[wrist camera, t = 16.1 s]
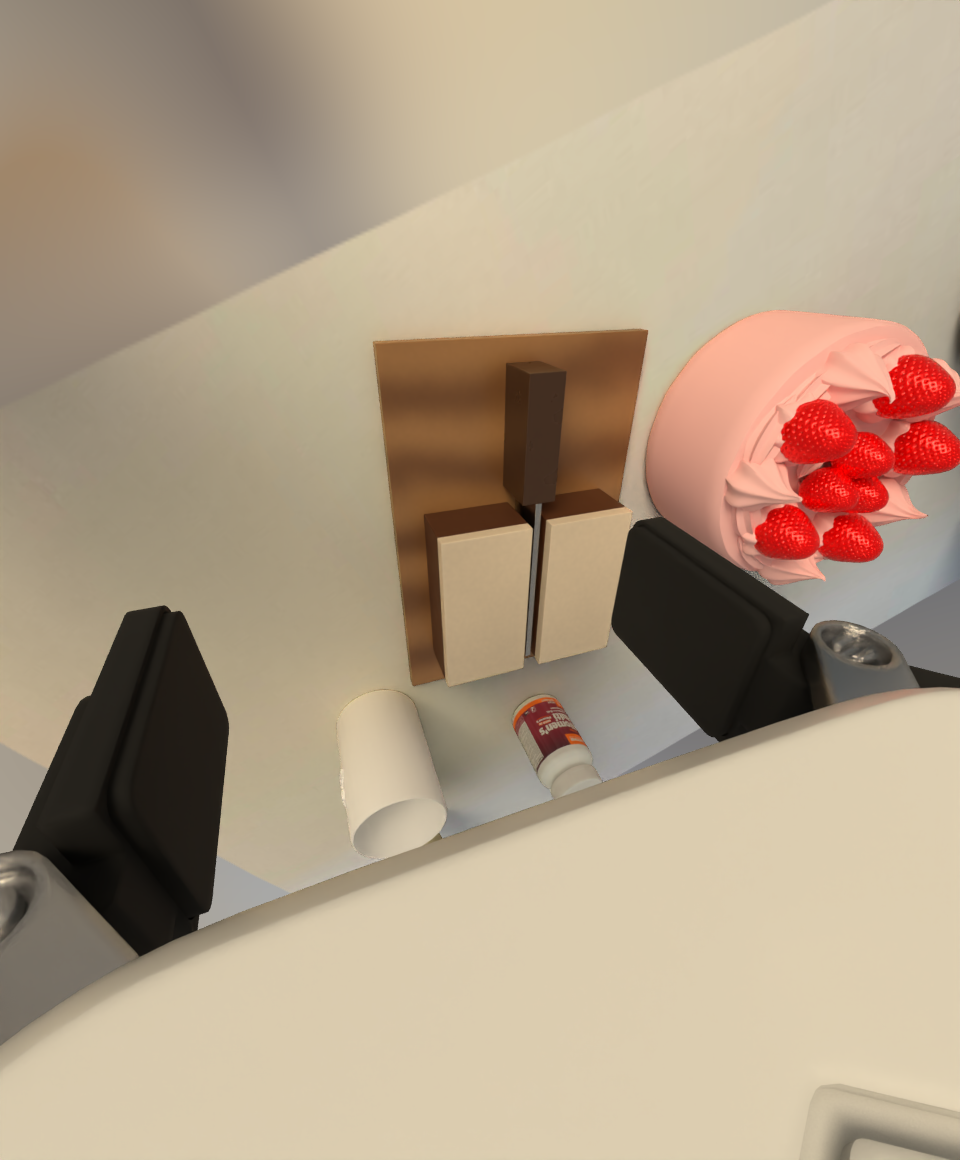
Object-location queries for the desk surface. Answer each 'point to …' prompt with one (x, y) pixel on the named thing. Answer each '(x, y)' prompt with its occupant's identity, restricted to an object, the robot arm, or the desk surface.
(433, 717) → the desk surface
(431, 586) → the cake
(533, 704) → the pill bottle
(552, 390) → the knife
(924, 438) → the cake
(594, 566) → the cake
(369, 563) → the desk surface
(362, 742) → the mug
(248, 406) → the desk surface
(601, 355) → the cake board
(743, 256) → the desk surface
